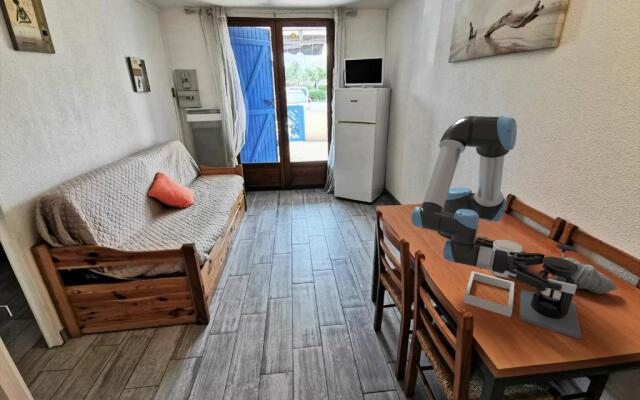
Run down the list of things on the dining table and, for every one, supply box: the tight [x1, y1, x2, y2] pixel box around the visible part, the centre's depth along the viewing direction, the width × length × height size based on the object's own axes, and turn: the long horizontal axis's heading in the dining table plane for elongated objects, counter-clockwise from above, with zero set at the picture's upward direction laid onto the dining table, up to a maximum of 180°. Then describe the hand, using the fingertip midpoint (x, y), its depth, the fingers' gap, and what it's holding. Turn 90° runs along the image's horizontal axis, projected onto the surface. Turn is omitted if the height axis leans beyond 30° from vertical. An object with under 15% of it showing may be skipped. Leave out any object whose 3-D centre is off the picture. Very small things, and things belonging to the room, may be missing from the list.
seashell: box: [550, 257, 618, 295], centre depth 110 cm, size 16×15×10 cm
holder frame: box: [463, 271, 515, 318], centre depth 107 cm, size 14×17×3 cm
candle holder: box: [490, 239, 524, 279], centre depth 119 cm, size 10×10×12 cm
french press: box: [530, 243, 579, 319], centre depth 94 cm, size 12×9×23 cm
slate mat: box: [519, 289, 582, 340], centre depth 98 cm, size 15×17×1 cm
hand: (571, 277), depth 92 cm, fingers open, 13 cm apart
